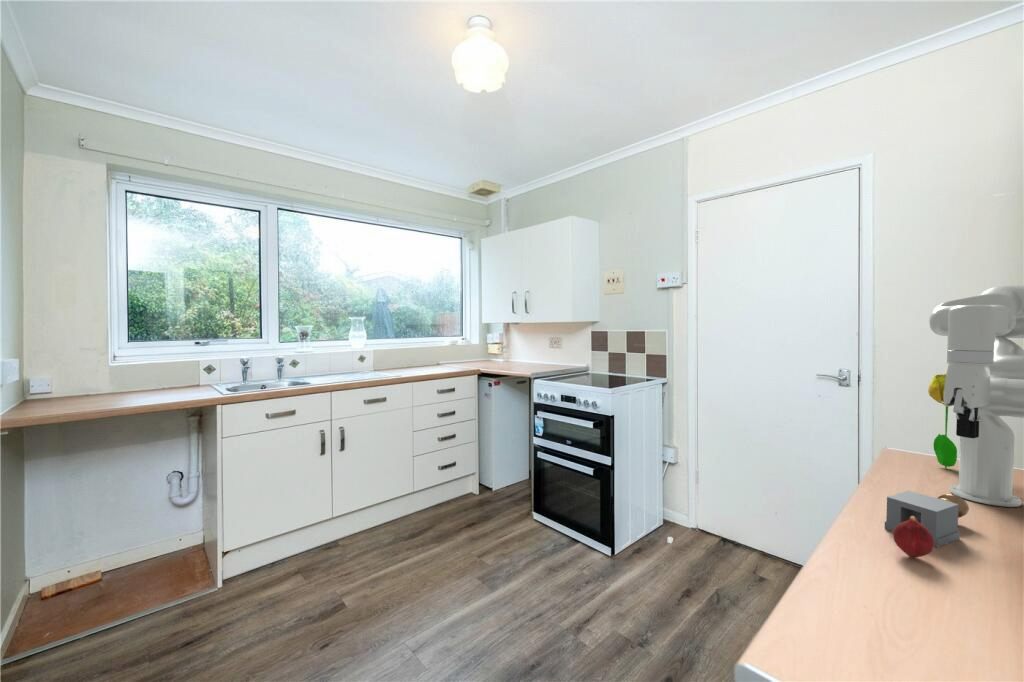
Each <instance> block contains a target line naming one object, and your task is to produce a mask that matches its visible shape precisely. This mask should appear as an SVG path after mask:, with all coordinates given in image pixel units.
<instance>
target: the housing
mask: <svg viewBox="0 0 1024 682" xmlns="http://www.w3.org/2000/svg"><path fill="white" fill-rule="evenodd" d="M937 498H938V497H933V496H929V495H927V494H922V493H919V492H917V491H916V492H915V491H912V490H907V491H902V492H900V493H896V494H893V495H889V496H886V518H885V519H886V521H884V529H885V530H888V531H890V532H893V531H894V529H895V527H896V526H897V525H898V524H900V523H902V522H904V521H908V520H909V519H910V517H911V516H914V517H916V519H917V521H918V522H919V523H920V524H922V525H923V526H924V527H926V528H927V530H928V531H929V532H930V533H931V535H932V537H933V539H934V548H935V547H936V548H940V547H942V546H945V545H946V544H947V545H948V544H949V543H952V542H954V541H957V540H959V539H960V532H961V531H960V530H959V528H958V527H959V518H958V505H959V504H956V503H952V502H948V501H945V500H941V499H937ZM919 512H920V513H921V516H920V514H919Z"/></svg>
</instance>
